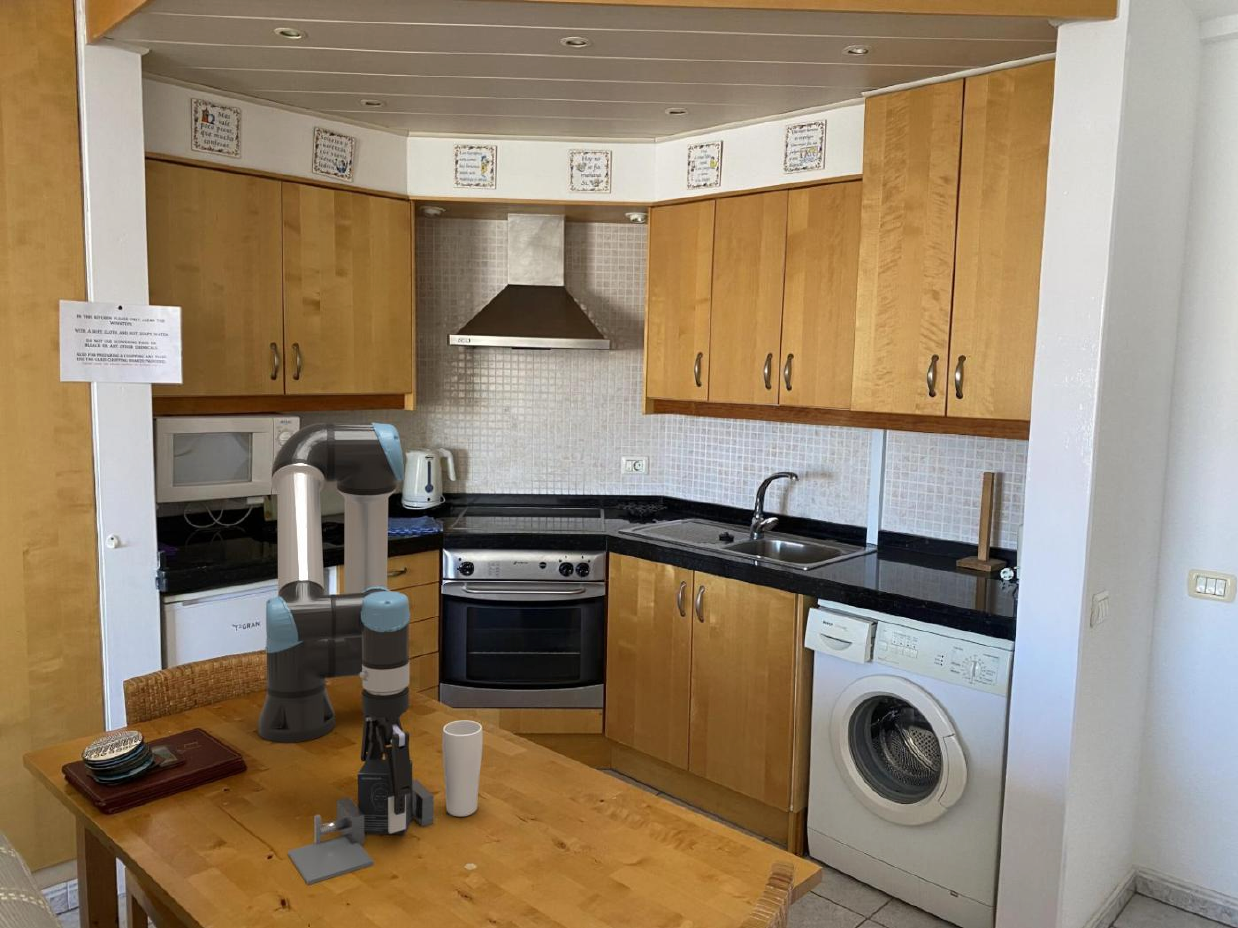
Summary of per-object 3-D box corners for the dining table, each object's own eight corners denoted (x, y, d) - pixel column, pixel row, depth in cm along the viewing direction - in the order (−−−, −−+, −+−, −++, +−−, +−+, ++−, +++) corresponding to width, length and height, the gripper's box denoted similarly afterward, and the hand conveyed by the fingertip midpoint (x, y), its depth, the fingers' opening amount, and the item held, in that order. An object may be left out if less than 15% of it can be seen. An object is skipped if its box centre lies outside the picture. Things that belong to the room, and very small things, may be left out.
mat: (287, 854, 144) (287, 850, 144) (350, 836, 150) (350, 832, 150) (308, 884, 136) (308, 880, 136) (373, 864, 142) (373, 860, 142)
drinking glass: (473, 822, 155) (474, 737, 154) (435, 817, 157) (436, 733, 155) (487, 803, 162) (488, 721, 160) (450, 798, 163) (451, 717, 161)
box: (413, 818, 156) (413, 759, 155) (405, 835, 150) (405, 774, 149) (366, 816, 156) (366, 757, 155) (357, 834, 150) (356, 772, 149)
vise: (308, 836, 149) (308, 807, 149) (416, 806, 160) (416, 779, 160) (322, 856, 143) (322, 826, 143) (433, 823, 154) (433, 795, 154)
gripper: (340, 672, 157) (341, 797, 159) (389, 713, 140) (389, 853, 142) (382, 664, 161) (382, 786, 164) (435, 703, 144) (434, 839, 147)
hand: (385, 817), depth 153 cm, fingers closed on box, 9 cm apart
